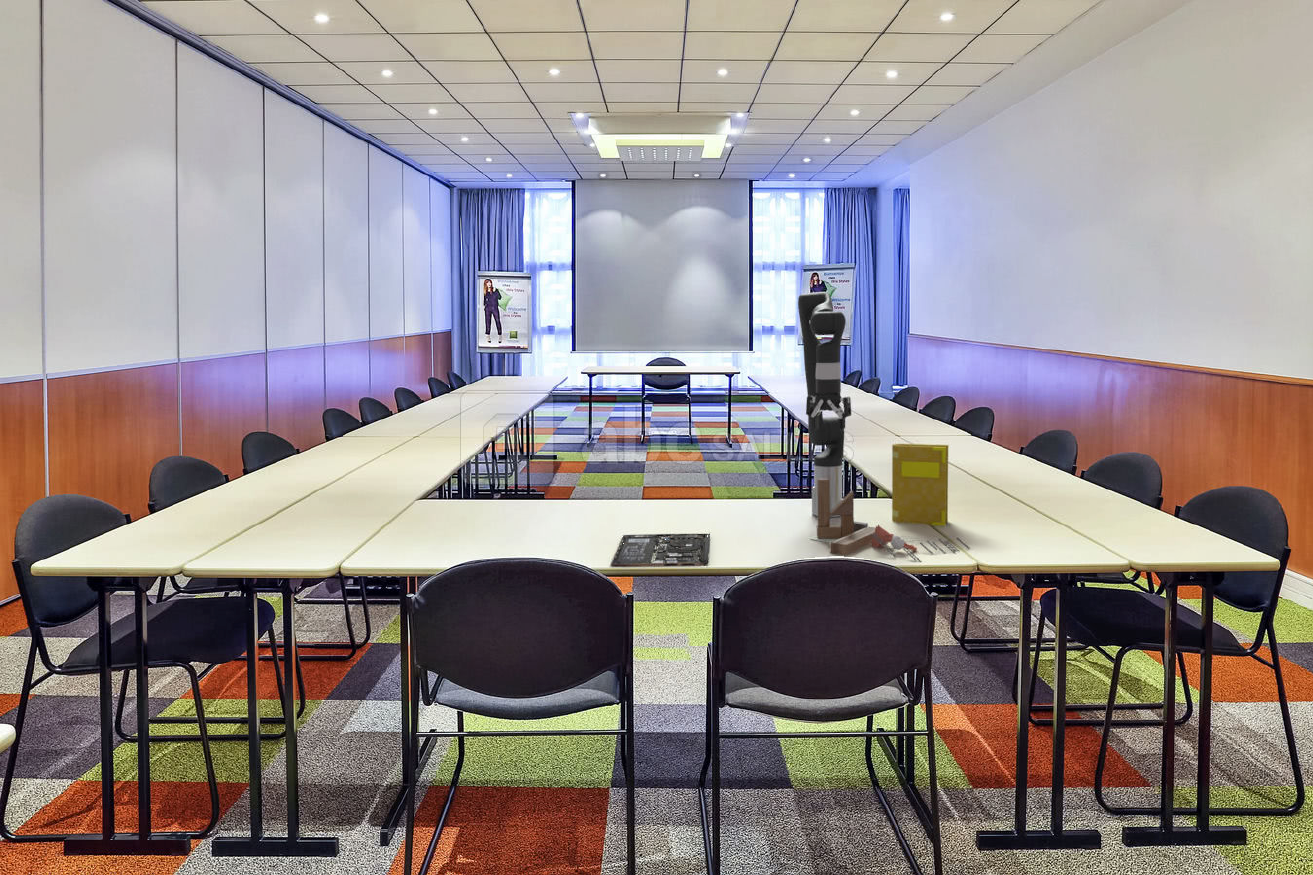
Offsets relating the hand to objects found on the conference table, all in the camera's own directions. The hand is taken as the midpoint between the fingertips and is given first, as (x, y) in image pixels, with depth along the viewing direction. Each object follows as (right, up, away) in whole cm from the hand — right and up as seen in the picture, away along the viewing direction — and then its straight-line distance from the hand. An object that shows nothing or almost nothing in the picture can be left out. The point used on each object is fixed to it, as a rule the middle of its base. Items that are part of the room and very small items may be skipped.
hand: (828, 430), depth 287 cm
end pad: (+1, -33, -6) cm, 34 cm away
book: (+32, -30, +14) cm, 46 cm away
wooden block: (+1, -33, -5) cm, 33 cm away
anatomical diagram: (+22, -35, -22) cm, 47 cm away
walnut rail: (+4, -34, -12) cm, 36 cm away
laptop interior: (-51, -36, -13) cm, 64 cm away
